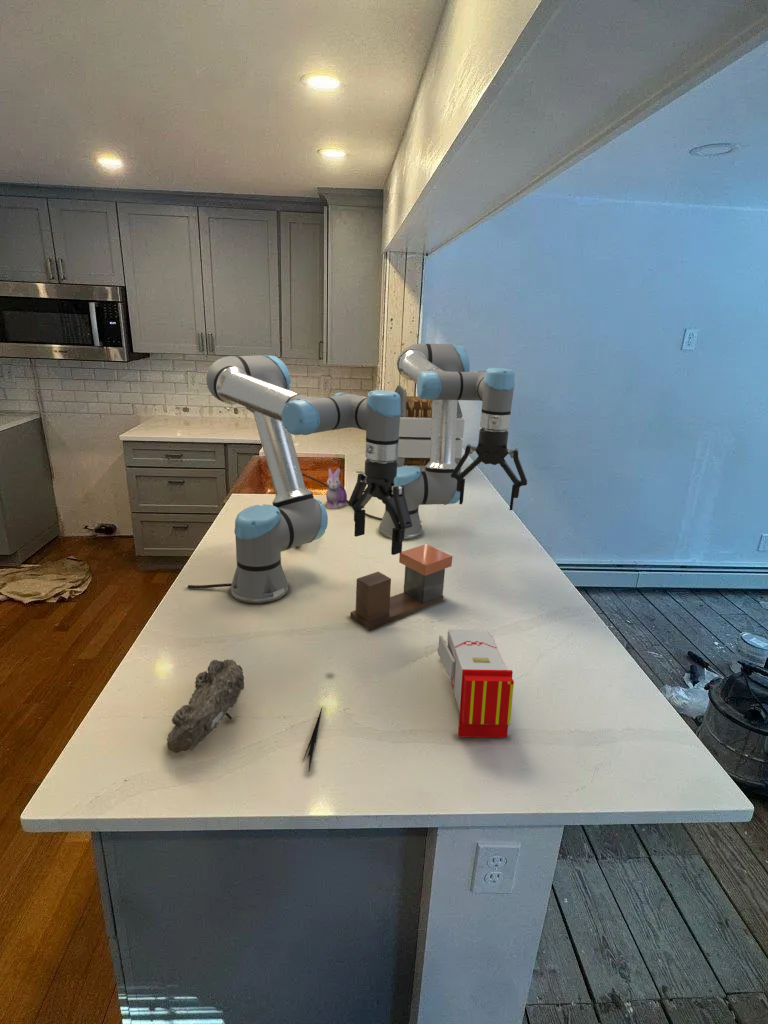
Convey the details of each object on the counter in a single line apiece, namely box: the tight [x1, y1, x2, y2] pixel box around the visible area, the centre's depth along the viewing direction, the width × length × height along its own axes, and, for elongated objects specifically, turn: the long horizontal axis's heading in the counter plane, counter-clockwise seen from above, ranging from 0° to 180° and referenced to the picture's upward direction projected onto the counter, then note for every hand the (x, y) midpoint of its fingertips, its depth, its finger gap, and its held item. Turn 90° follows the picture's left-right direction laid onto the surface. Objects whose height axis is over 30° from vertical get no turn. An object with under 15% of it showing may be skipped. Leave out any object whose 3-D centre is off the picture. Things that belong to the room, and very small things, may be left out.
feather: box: [301, 673, 332, 771], centre depth 108 cm, size 2×28×2 cm
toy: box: [437, 628, 515, 738], centre depth 117 cm, size 12×13×30 cm
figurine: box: [325, 467, 348, 509], centre depth 223 cm, size 9×10×15 cm
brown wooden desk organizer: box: [349, 565, 446, 632], centre depth 148 cm, size 8×26×12 cm, turn 131°
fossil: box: [166, 658, 245, 754], centre depth 106 cm, size 22×10×15 cm
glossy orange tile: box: [398, 543, 453, 576], centre depth 152 cm, size 10×10×4 cm
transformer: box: [394, 384, 465, 472], centre depth 268 cm, size 34×33×41 cm
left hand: (377, 544), depth 138 cm, fingers open, 13 cm apart
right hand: (485, 505), depth 156 cm, fingers open, 13 cm apart
